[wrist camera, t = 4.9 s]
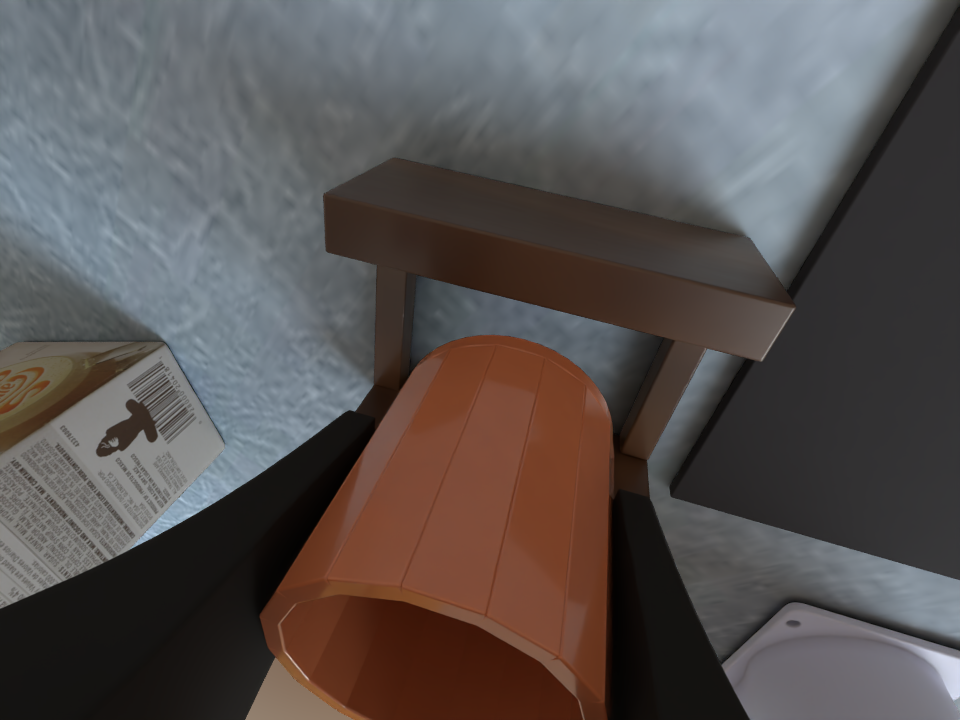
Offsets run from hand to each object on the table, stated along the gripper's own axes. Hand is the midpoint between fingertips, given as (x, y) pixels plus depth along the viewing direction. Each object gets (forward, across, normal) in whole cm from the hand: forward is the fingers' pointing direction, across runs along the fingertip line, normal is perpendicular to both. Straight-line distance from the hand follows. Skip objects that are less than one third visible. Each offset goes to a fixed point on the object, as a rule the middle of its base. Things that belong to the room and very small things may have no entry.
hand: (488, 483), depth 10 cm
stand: (+6, 0, 0) cm, 7 cm away
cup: (+2, 0, 0) cm, 2 cm away
